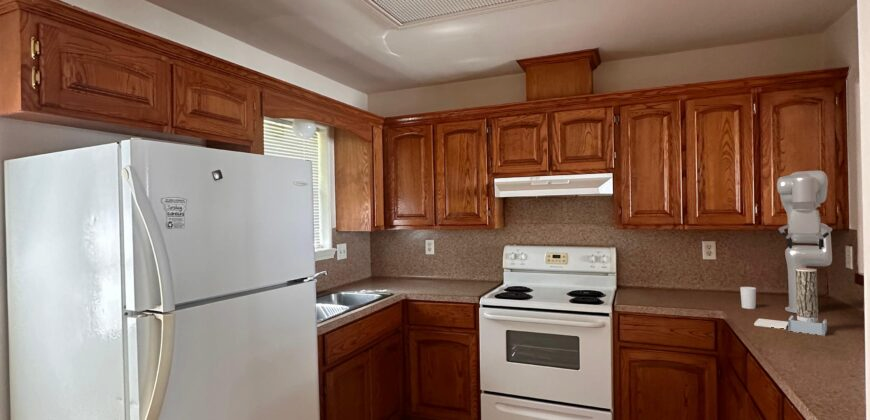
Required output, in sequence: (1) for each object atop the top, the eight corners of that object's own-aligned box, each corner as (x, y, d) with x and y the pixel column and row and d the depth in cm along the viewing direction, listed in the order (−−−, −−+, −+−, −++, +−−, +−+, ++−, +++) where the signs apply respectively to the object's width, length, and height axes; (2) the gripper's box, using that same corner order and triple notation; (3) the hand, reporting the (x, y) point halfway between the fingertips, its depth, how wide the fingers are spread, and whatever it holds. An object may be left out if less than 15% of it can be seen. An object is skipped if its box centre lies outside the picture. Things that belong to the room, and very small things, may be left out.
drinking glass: (759, 309, 237) (758, 288, 237) (744, 308, 238) (743, 288, 238) (752, 306, 244) (752, 286, 244) (738, 306, 245) (737, 286, 245)
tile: (758, 320, 213) (758, 318, 213) (789, 324, 206) (789, 321, 206) (754, 325, 205) (754, 323, 205) (785, 329, 198) (785, 326, 198)
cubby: (791, 326, 203) (791, 315, 203) (826, 330, 195) (826, 319, 195) (788, 331, 195) (788, 320, 195) (825, 335, 187) (824, 324, 187)
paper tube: (793, 329, 197) (791, 268, 197) (804, 327, 199) (802, 267, 200) (811, 333, 191) (809, 270, 191) (822, 331, 193) (820, 269, 193)
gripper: (832, 206, 192) (833, 248, 192) (779, 207, 204) (780, 247, 204) (830, 206, 187) (832, 250, 186) (776, 207, 198) (778, 248, 198)
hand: (805, 248), depth 195 cm, fingers open, 9 cm apart
